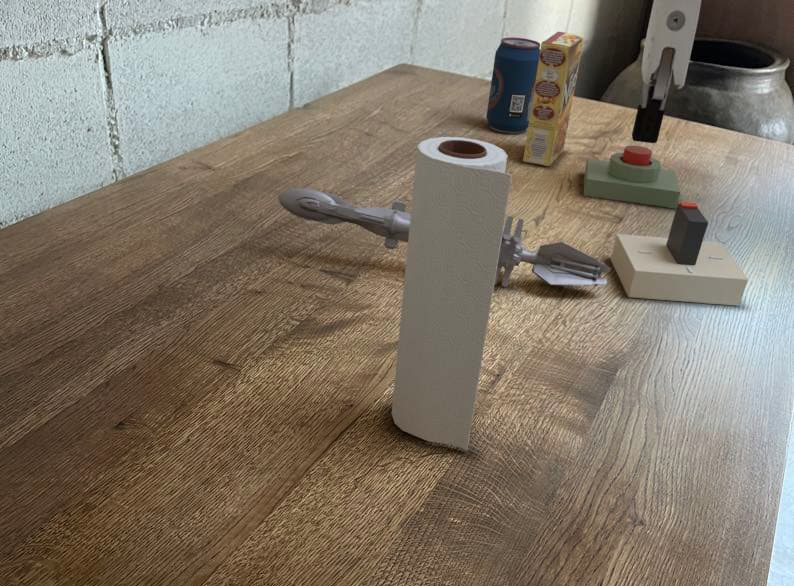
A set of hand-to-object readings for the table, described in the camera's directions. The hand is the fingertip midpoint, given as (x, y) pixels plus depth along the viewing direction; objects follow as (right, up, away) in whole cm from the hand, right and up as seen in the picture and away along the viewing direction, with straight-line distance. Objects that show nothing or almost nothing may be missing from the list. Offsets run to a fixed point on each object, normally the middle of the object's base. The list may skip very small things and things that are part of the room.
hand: (644, 140), depth 119 cm
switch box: (-1, -5, +4) cm, 7 cm away
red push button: (-1, -2, +2) cm, 3 cm away
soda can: (-15, +12, +23) cm, 30 cm away
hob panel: (-2, -24, -18) cm, 30 cm away
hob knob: (-2, -21, -20) cm, 29 cm away
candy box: (-11, +3, +13) cm, 17 cm away
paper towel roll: (-30, -43, -45) cm, 69 cm away
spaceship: (-28, -24, -22) cm, 42 cm away
